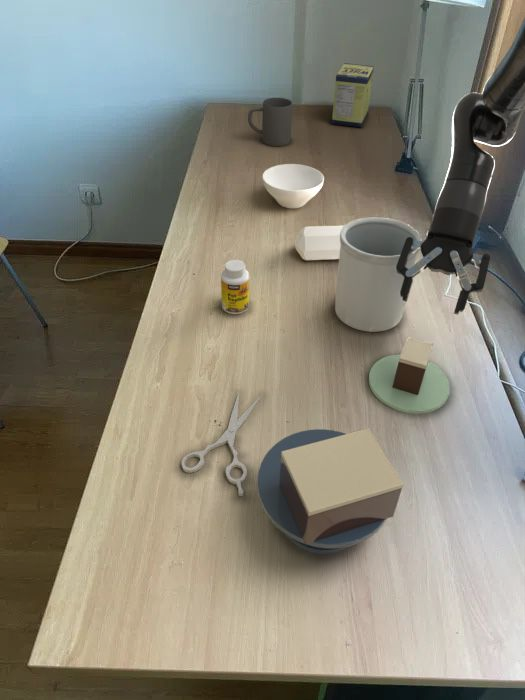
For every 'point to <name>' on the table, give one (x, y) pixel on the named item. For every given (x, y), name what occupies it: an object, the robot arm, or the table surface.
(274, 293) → the table surface
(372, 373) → the plate
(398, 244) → the utensil holder
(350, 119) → the protein box
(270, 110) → the mug
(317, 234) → the crystal
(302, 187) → the bowl
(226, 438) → the scissors
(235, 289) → the supplement bottle
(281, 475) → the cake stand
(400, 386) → the cake slice
